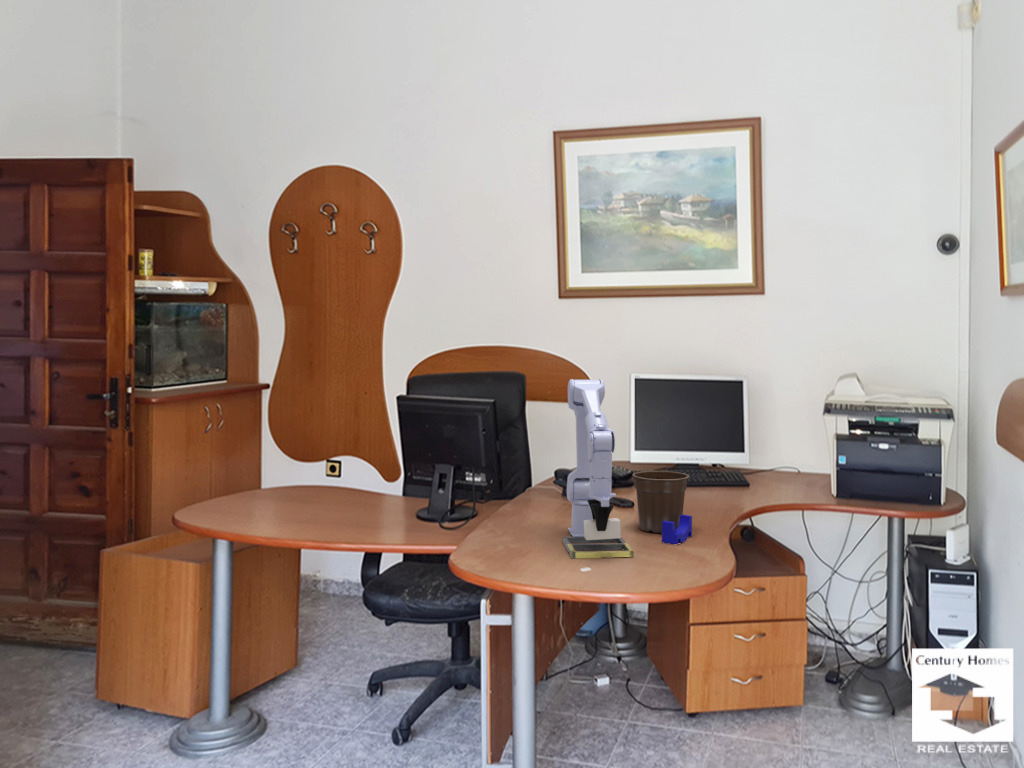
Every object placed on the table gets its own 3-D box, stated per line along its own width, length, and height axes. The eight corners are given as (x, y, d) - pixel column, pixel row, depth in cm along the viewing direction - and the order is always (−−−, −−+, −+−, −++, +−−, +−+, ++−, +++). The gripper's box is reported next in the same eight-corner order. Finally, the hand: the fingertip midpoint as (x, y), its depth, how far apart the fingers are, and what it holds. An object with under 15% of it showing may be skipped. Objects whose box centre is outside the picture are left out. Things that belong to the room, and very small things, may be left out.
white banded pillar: (584, 537, 231) (583, 519, 231) (618, 534, 232) (617, 517, 231) (586, 540, 227) (585, 522, 227) (620, 538, 228) (620, 520, 228)
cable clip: (676, 545, 240) (677, 524, 239) (661, 543, 242) (662, 521, 242) (696, 537, 249) (696, 516, 249) (682, 535, 252) (682, 514, 251)
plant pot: (622, 525, 264) (623, 471, 263) (670, 521, 269) (671, 469, 268) (647, 537, 248) (648, 480, 247) (698, 533, 253) (699, 477, 252)
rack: (562, 542, 242) (562, 535, 242) (620, 541, 243) (620, 535, 243) (571, 558, 225) (571, 551, 225) (633, 557, 226) (633, 550, 226)
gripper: (621, 481, 222) (620, 535, 222) (610, 472, 236) (609, 522, 237) (593, 481, 221) (592, 535, 222) (584, 472, 236) (583, 522, 236)
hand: (599, 529), depth 229 cm, fingers closed on white banded pillar, 3 cm apart
